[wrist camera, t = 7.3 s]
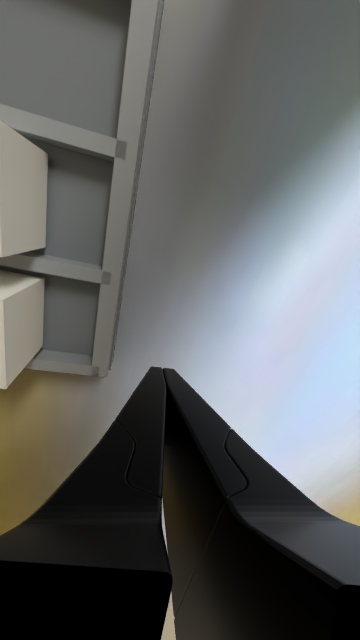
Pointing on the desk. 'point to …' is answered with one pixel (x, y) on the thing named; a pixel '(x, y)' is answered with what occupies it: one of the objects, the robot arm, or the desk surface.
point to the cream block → (19, 322)
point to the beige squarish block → (21, 193)
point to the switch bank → (80, 157)
